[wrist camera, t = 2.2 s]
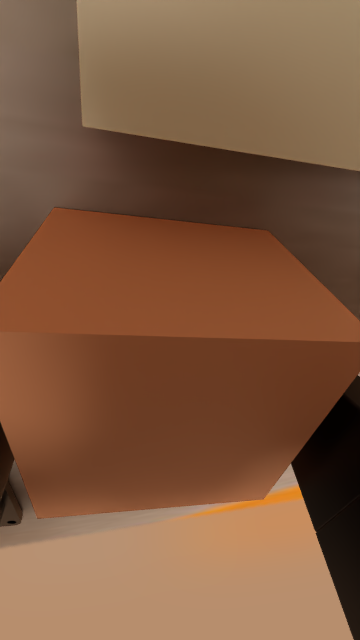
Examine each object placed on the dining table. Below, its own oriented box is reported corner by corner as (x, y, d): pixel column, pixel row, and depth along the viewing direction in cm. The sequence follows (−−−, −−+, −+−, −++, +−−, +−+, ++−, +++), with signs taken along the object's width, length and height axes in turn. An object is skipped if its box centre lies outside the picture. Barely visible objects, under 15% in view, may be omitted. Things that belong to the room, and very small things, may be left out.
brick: (221, 369, 12) (263, 499, 8) (71, 368, 11) (37, 518, 7) (268, 230, 9) (381, 342, 5) (54, 207, 7) (-35, 330, 3)
